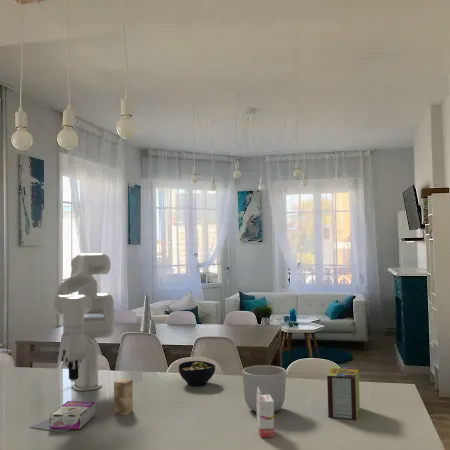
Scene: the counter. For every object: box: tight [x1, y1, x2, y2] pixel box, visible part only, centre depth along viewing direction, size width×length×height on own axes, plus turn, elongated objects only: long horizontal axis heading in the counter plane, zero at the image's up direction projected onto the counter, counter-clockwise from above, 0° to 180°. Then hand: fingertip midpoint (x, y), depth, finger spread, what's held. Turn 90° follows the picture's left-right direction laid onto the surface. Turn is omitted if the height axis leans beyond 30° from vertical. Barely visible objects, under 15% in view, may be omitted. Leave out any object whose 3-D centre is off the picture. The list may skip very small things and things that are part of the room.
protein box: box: [326, 365, 361, 421], centre depth 193 cm, size 10×15×16 cm
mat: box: [29, 416, 96, 434], centre depth 185 cm, size 15×17×1 cm
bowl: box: [177, 360, 216, 388], centre depth 235 cm, size 17×17×10 cm
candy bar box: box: [49, 400, 96, 430], centre depth 185 cm, size 11×5×16 cm
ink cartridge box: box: [256, 387, 275, 438], centre depth 172 cm, size 9×5×15 cm, turn 5°
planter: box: [242, 364, 287, 413], centre depth 197 cm, size 17×17×15 cm
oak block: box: [113, 378, 133, 416], centre depth 196 cm, size 5×5×12 cm
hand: (73, 378), depth 191 cm, fingers closed
